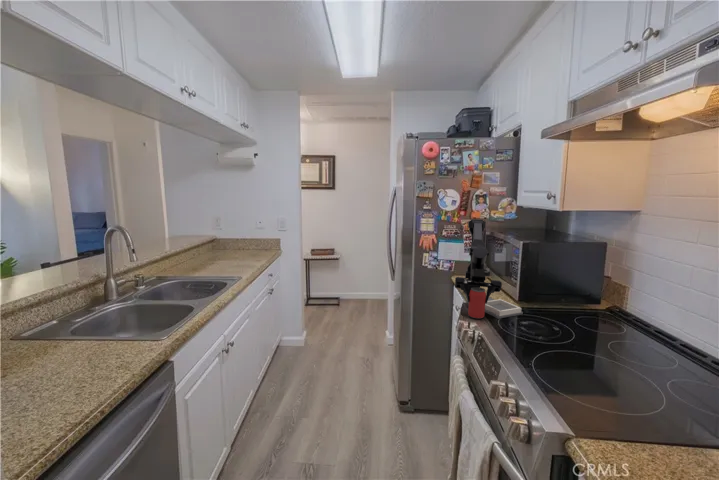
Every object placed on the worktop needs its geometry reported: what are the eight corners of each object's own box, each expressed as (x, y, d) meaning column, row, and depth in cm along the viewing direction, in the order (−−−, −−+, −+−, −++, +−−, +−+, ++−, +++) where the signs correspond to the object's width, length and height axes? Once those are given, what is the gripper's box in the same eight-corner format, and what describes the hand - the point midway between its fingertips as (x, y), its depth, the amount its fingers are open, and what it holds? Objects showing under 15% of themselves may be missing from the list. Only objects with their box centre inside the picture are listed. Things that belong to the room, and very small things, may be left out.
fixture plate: (466, 302, 153) (466, 296, 153) (489, 299, 158) (489, 293, 158) (497, 318, 135) (498, 311, 134) (522, 314, 140) (523, 307, 139)
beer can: (474, 319, 132) (476, 292, 130) (464, 313, 138) (466, 287, 136) (487, 318, 134) (489, 290, 131) (477, 312, 140) (479, 286, 138)
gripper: (456, 259, 138) (454, 291, 130) (503, 262, 133) (504, 296, 124) (455, 271, 147) (453, 302, 138) (499, 275, 141) (500, 308, 133)
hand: (477, 302), depth 133 cm, fingers closed on beer can, 7 cm apart
